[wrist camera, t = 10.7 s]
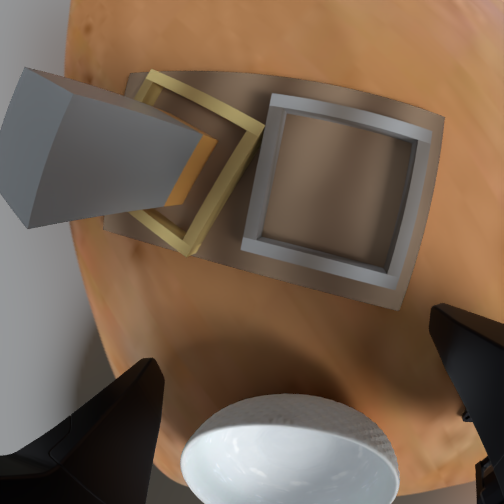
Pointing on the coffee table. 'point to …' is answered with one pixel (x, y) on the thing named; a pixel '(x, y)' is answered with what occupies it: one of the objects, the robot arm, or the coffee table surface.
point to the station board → (297, 181)
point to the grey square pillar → (92, 152)
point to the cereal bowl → (290, 454)
